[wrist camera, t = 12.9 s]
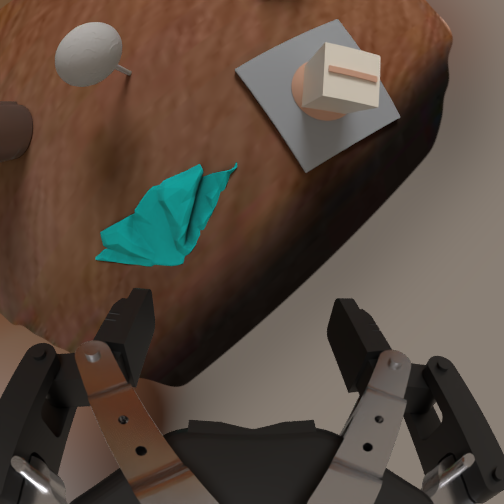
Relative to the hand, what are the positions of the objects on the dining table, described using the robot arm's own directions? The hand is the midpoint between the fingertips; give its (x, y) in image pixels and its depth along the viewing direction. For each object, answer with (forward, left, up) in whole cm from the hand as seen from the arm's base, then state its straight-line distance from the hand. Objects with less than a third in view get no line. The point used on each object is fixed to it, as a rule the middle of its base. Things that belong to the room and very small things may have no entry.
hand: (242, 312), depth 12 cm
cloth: (-3, -12, -28) cm, 30 cm away
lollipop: (-23, -3, -27) cm, 36 cm away
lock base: (-6, +16, -27) cm, 32 cm away
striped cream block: (-6, +16, -25) cm, 31 cm away
